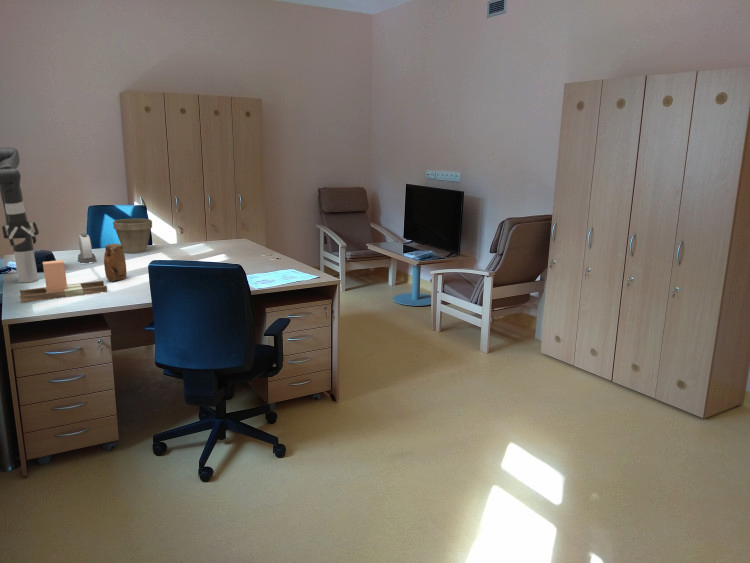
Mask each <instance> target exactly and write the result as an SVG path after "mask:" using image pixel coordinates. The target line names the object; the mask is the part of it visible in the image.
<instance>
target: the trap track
mask: <svg viewBox="0 0 750 563" xmlns="http://www.w3.org/2000/svg"><path fill="white" fill-rule="evenodd" d="M107 287H108V286H107V285H105V282H104V280H97V281H96V280H95V281H87V282H80V283H79V282H78V283H71V284H70V283H69V284H67V288H68V289H65V290H57V291H49V292H47V288H46V286H44V287H36V288H29V289H21V290H20V289H19V294H20V296H19V298H20V303H21V304H23V302H24V303H30V302H32V303H33V302H38V301H48V300H54V299H55V298H56V299H63V298H71V297H78V296H85V294H87V295H93V294H94V293H95V294H100V293H101V292H103V293H108V288H107ZM62 297H63V298H62ZM56 299H55V300H56Z"/></svg>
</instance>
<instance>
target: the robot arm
mask: <svg viewBox="0 0 750 563" xmlns="http://www.w3.org/2000/svg"><path fill="white" fill-rule="evenodd" d="M19 153H20V152H19V151H18V150H17V148H15V147H9V146H7V147H0V198H1V202H2V205H3V210H4V216H5V224H6V225H5V224H3V225H2V226H1V228H2V234H3V238H4V239H7V240H9V243H10V246H12V248H13V254H14V261H15V267H16V268H15V269H16V274H17V280H18V283H21V284H22V283H33V282H36V281H39V278H38V277H39V276H38V271H37V264H36V257H35V250H34V246H33V245H35V244H36V243H37V238H36V237H37V235H39V232H40V231H39V228H38V225H37V222H36V221H32V222H29V221H28V217H27V213H26V209H25V205H24V202H23V201H24V200H23V194H22V189H21V177H22V176H21V172H20V171H19V170H18V169H17V168H18V167H19V166H20V165H19V164H20V162H21V161H20V154H19ZM32 228H33V229H34V232H33V231H32ZM14 239H16V240H17V239H24V240H23V241H22V242H20V243H18V244H16V243H15V241H14Z"/></svg>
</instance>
